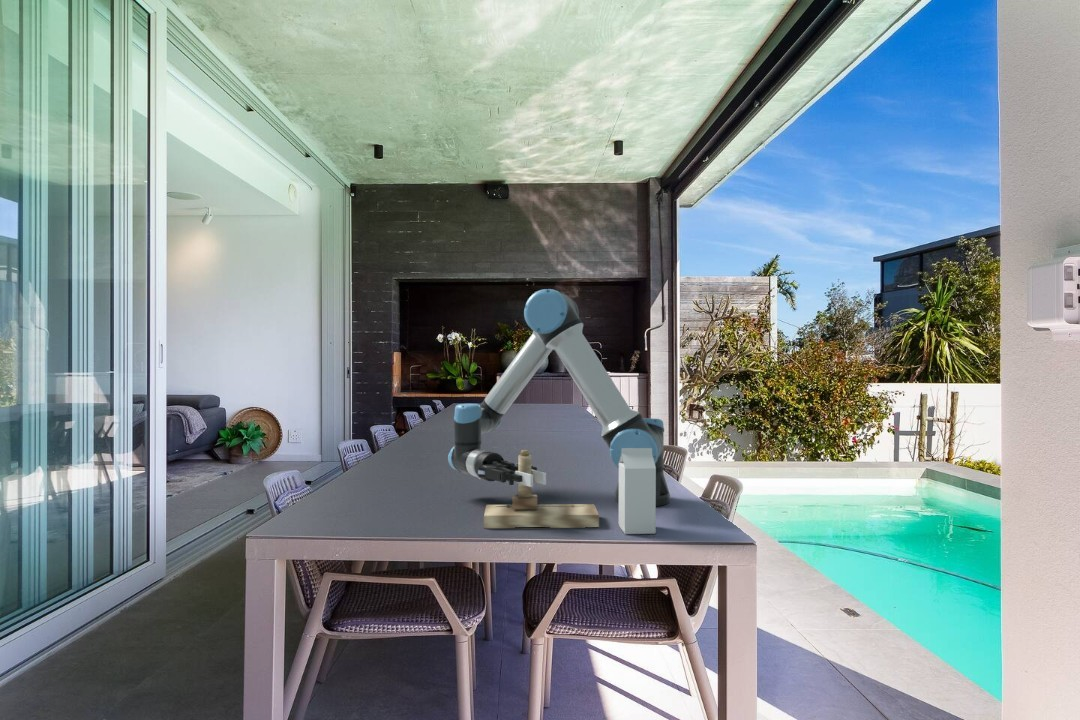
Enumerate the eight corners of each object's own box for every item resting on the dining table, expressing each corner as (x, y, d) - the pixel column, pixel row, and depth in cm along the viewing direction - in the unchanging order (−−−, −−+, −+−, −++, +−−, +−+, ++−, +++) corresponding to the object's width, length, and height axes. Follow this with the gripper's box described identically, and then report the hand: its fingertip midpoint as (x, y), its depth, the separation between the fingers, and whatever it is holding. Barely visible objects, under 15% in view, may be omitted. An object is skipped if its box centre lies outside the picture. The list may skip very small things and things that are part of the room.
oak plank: (593, 516, 149) (593, 503, 149) (598, 527, 139) (599, 514, 139) (486, 516, 148) (486, 504, 148) (483, 528, 138) (483, 515, 138)
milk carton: (655, 534, 134) (656, 450, 134) (624, 535, 133) (625, 450, 133) (647, 525, 141) (648, 445, 141) (618, 525, 140) (618, 446, 140)
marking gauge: (536, 504, 146) (537, 449, 146) (537, 508, 142) (537, 451, 142) (512, 504, 146) (512, 449, 146) (512, 509, 142) (512, 452, 142)
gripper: (511, 475, 163) (565, 491, 144) (459, 483, 153) (509, 500, 134) (511, 448, 163) (565, 460, 144) (459, 454, 153) (509, 467, 134)
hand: (538, 479), depth 139 cm, fingers closed on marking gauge, 3 cm apart
